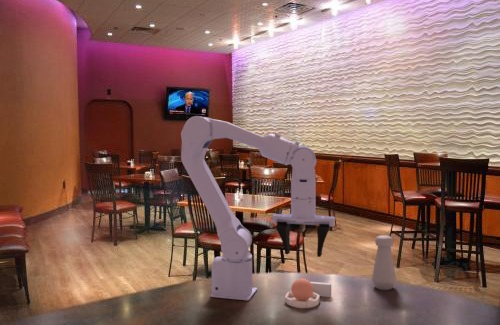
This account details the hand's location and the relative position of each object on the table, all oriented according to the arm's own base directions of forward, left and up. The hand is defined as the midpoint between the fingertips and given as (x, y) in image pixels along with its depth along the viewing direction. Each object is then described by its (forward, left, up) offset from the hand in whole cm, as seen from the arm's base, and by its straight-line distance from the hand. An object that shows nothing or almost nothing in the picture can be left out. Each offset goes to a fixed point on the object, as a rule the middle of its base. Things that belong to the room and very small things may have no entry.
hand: (303, 254), depth 110 cm
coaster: (0, -4, -10) cm, 11 cm away
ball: (0, -4, -10) cm, 10 cm away
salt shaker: (+18, +11, -10) cm, 24 cm away
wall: (+2, +2, -10) cm, 10 cm away
